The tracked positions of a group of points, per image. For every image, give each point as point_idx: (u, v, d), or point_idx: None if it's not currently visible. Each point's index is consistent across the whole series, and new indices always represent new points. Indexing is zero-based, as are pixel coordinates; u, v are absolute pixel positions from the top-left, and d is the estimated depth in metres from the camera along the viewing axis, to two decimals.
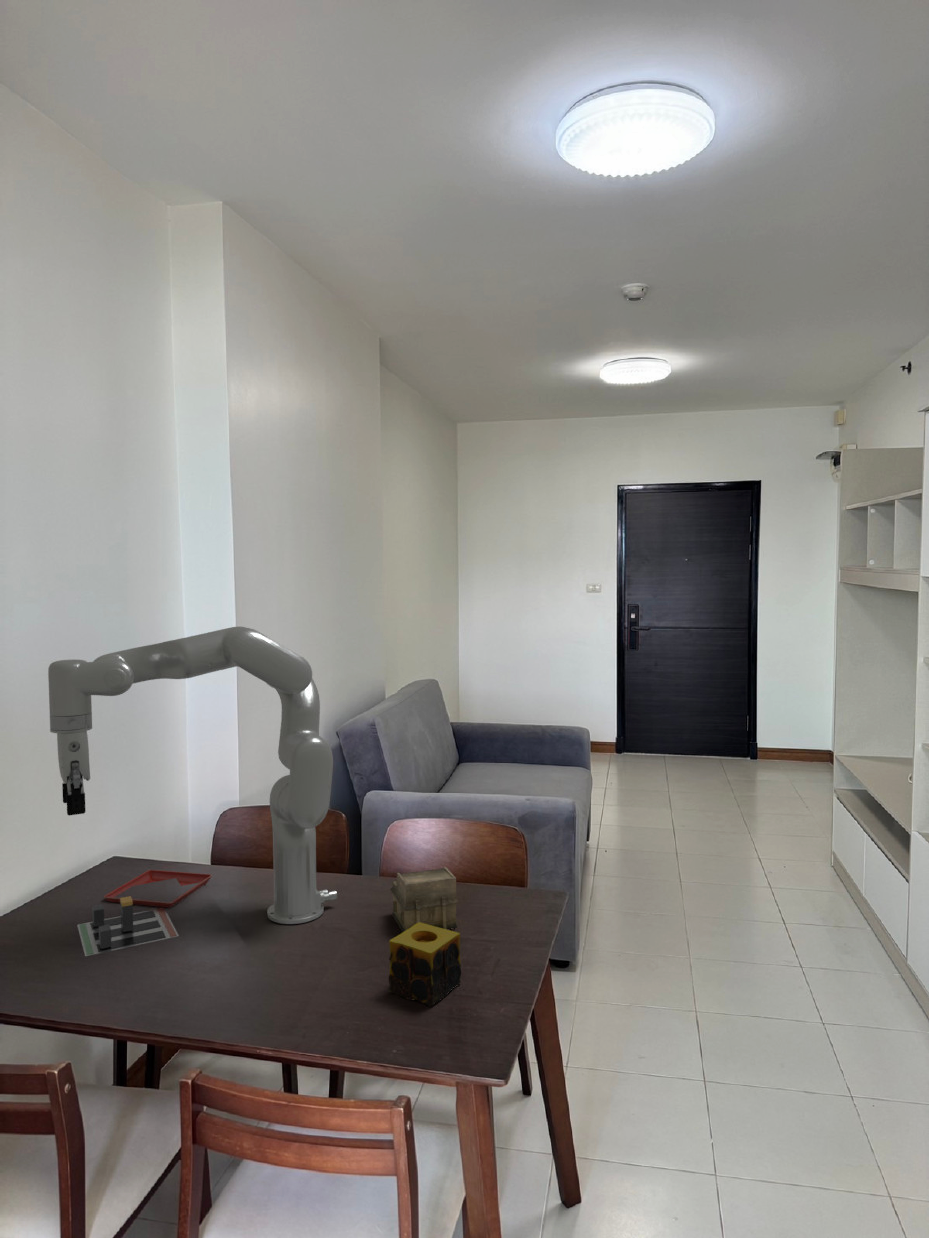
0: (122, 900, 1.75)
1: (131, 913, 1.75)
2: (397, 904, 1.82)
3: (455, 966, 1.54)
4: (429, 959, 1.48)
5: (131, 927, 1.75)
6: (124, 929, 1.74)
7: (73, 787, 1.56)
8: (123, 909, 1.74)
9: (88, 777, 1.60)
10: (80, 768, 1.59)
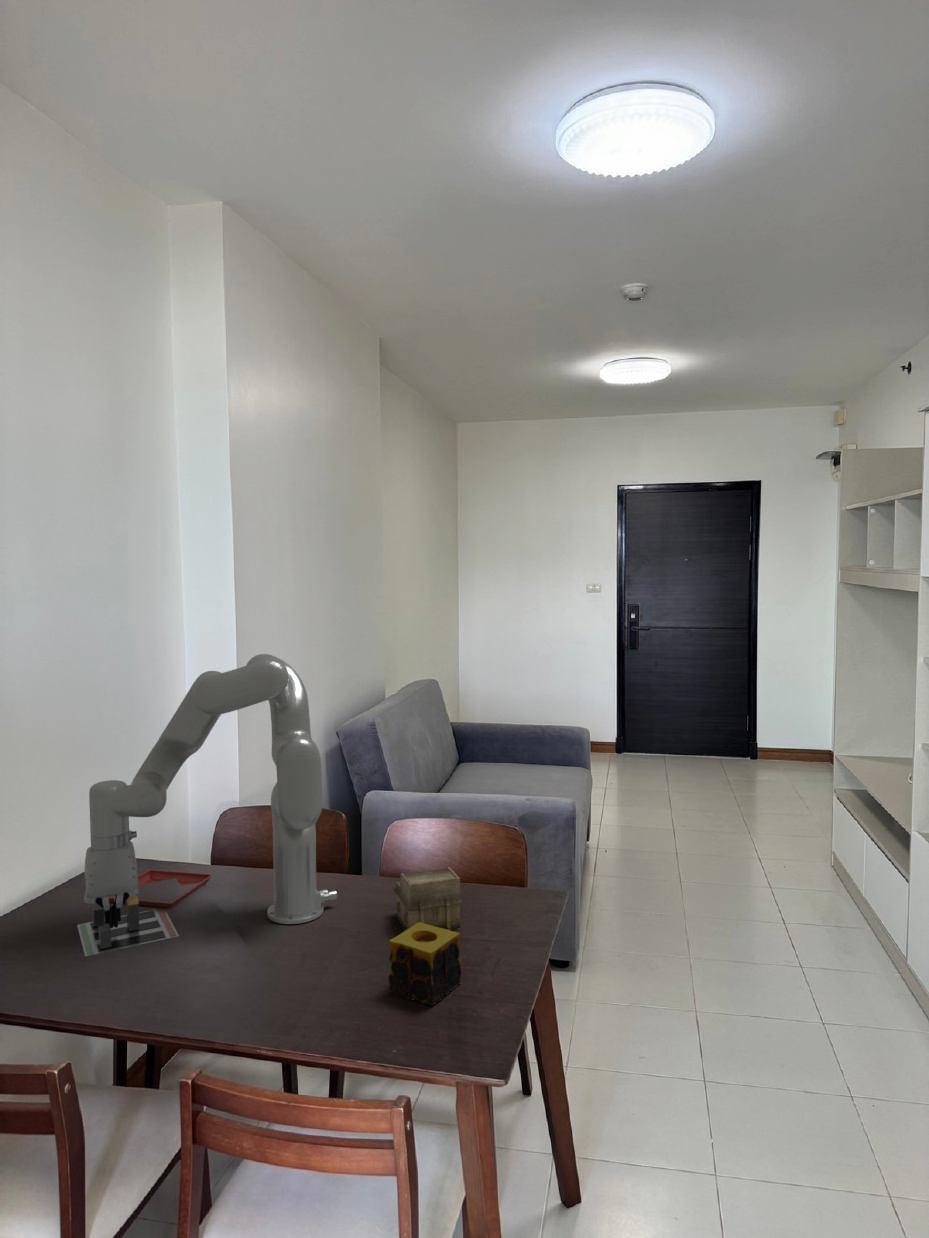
0: (128, 899, 1.76)
1: (137, 912, 1.75)
2: (401, 904, 1.82)
3: (455, 966, 1.54)
4: (429, 959, 1.48)
5: (137, 926, 1.76)
6: (130, 928, 1.75)
7: (128, 895, 1.75)
8: (129, 908, 1.75)
9: None
10: None
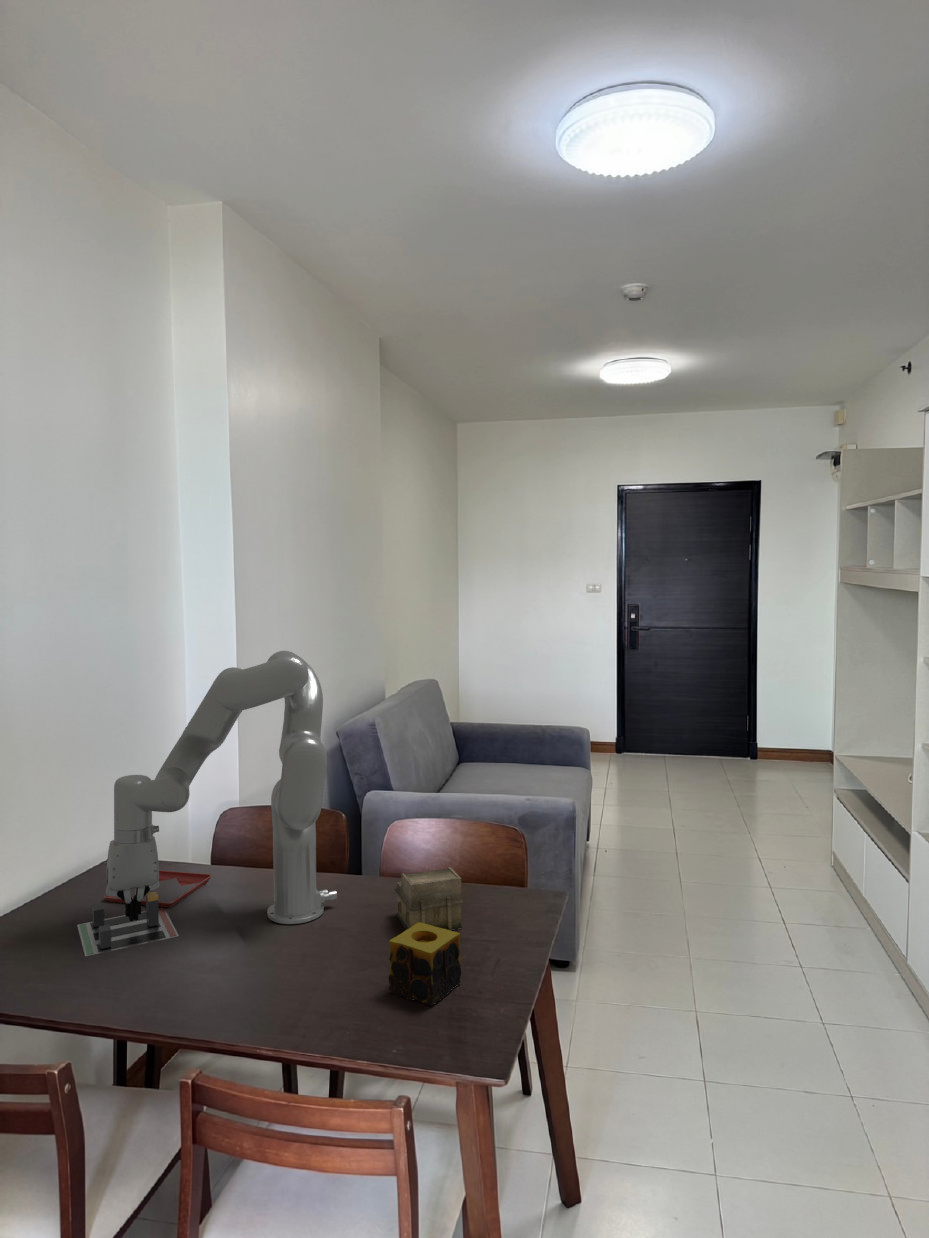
0: (148, 895, 1.78)
1: (157, 908, 1.77)
2: (402, 905, 1.82)
3: (455, 966, 1.54)
4: (429, 959, 1.48)
5: (157, 922, 1.78)
6: (150, 924, 1.77)
7: (149, 889, 1.77)
8: (149, 904, 1.77)
9: None
10: None
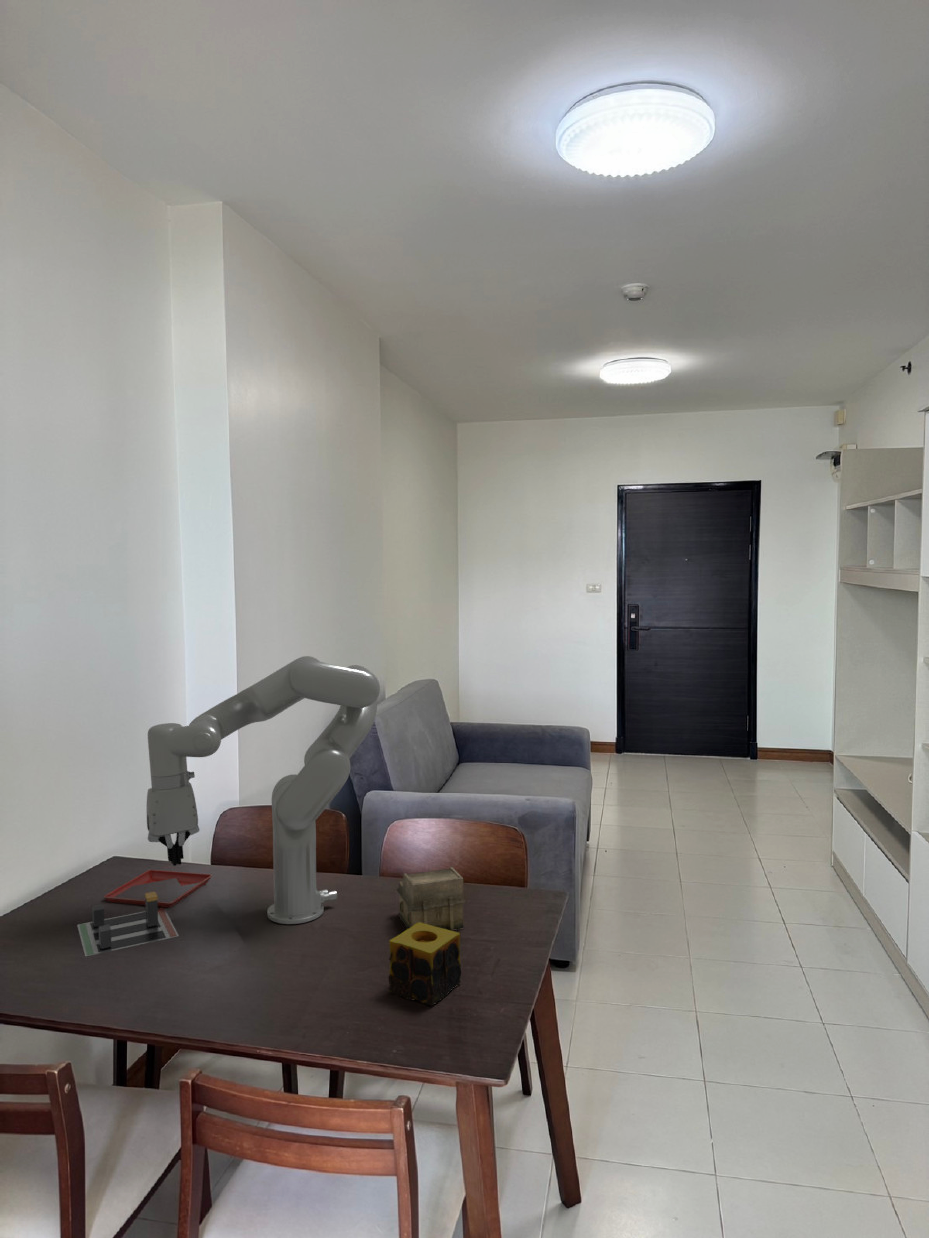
0: (147, 895, 1.78)
1: (156, 908, 1.77)
2: (404, 905, 1.82)
3: (455, 966, 1.54)
4: (429, 959, 1.48)
5: (156, 922, 1.78)
6: (149, 924, 1.77)
7: (189, 834, 1.81)
8: (148, 904, 1.77)
9: None
10: None
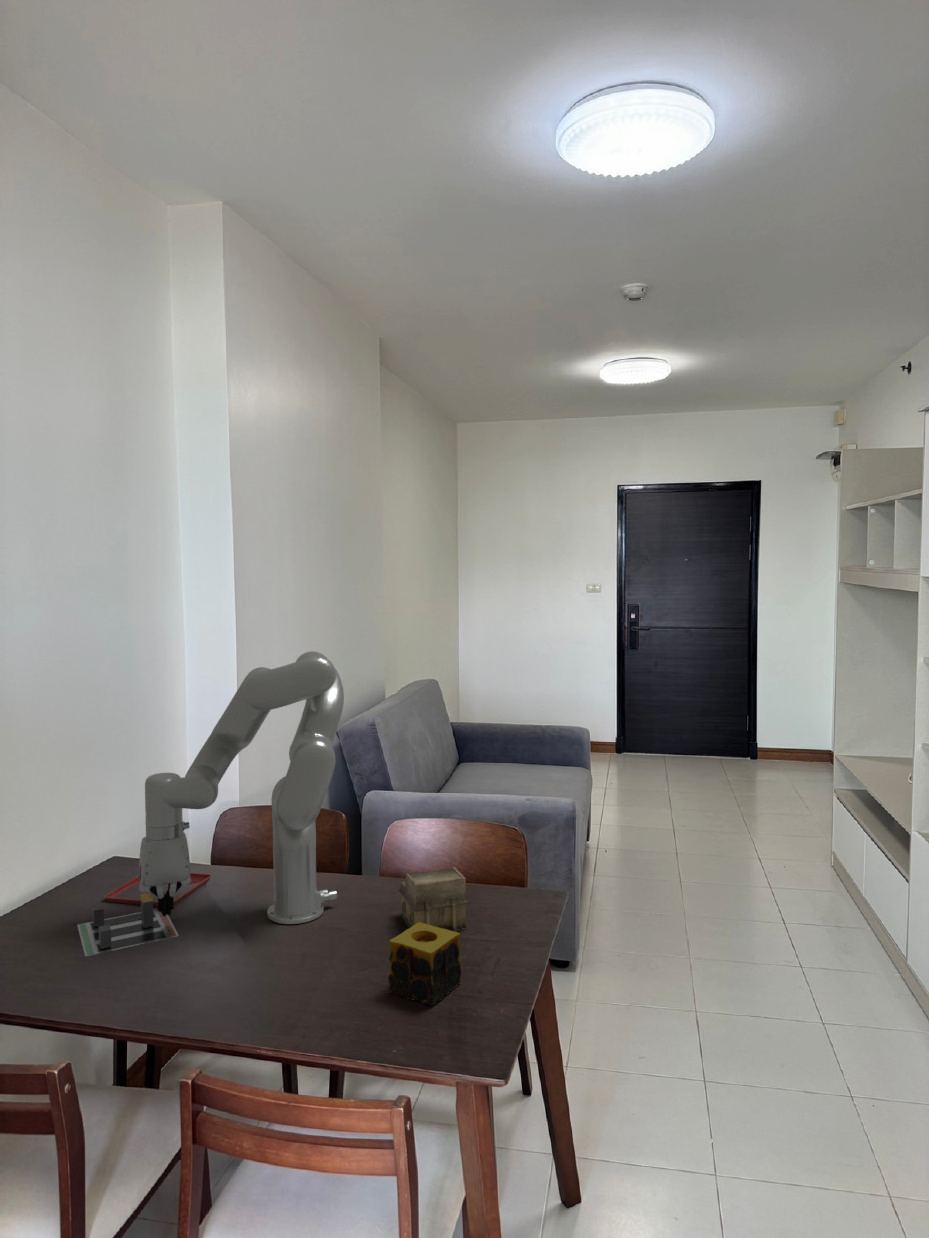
0: (142, 896, 1.77)
1: (151, 909, 1.77)
2: (406, 905, 1.82)
3: (455, 966, 1.54)
4: (429, 959, 1.48)
5: (151, 923, 1.77)
6: (145, 925, 1.76)
7: None
8: (144, 905, 1.76)
9: None
10: None
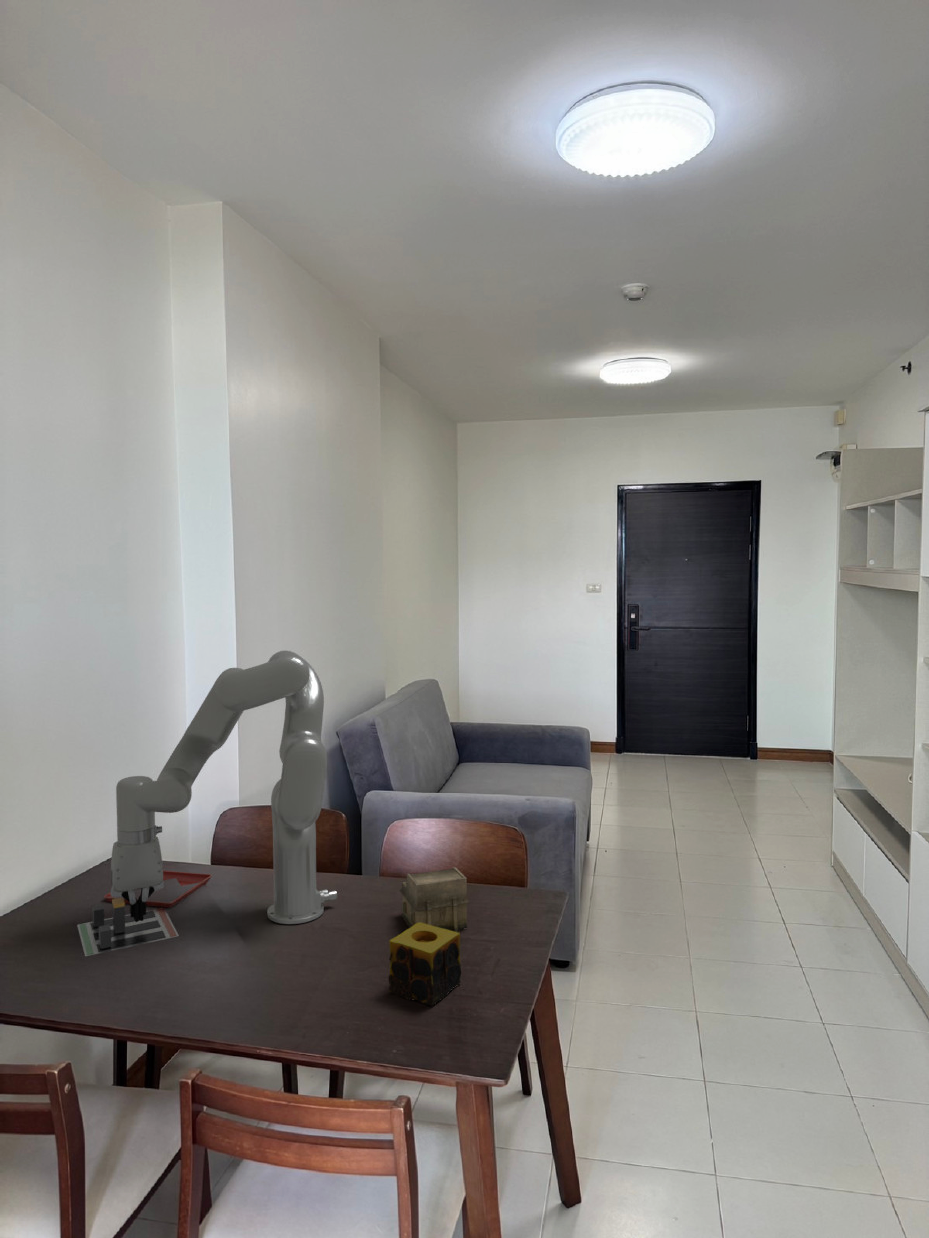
0: (114, 902, 1.74)
1: (123, 915, 1.74)
2: (407, 905, 1.82)
3: (455, 966, 1.54)
4: (429, 959, 1.48)
5: (123, 929, 1.74)
6: (116, 931, 1.74)
7: (154, 890, 1.78)
8: (115, 911, 1.73)
9: None
10: None
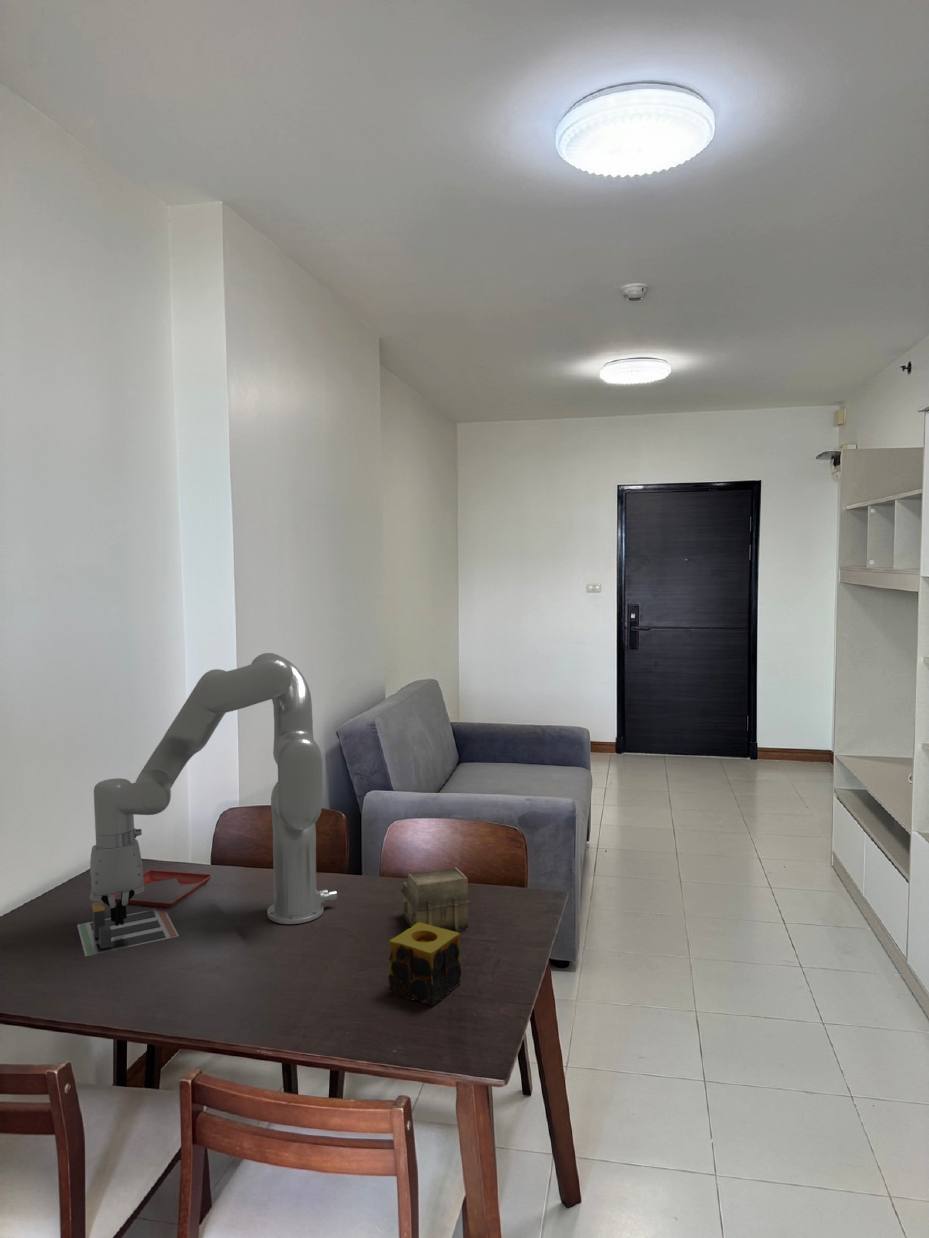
0: (94, 905, 1.72)
1: (103, 919, 1.72)
2: (408, 905, 1.82)
3: (455, 966, 1.54)
4: (429, 959, 1.48)
5: None
6: (96, 935, 1.72)
7: (134, 893, 1.76)
8: (95, 914, 1.71)
9: None
10: None
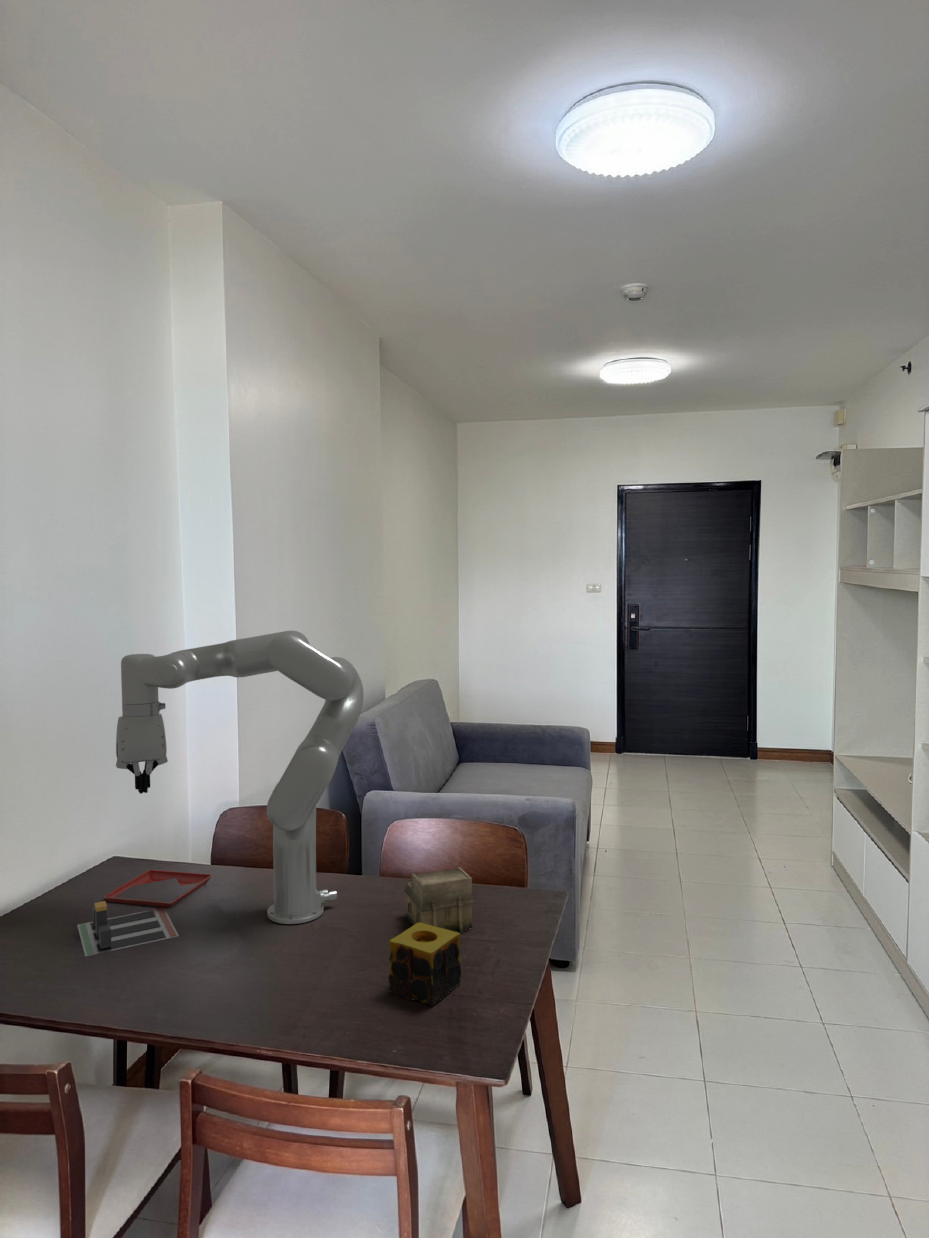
0: (96, 905, 1.73)
1: (105, 918, 1.72)
2: (412, 905, 1.82)
3: (455, 966, 1.54)
4: (429, 959, 1.48)
5: None
6: (98, 934, 1.72)
7: (157, 764, 1.84)
8: (97, 914, 1.72)
9: None
10: None
